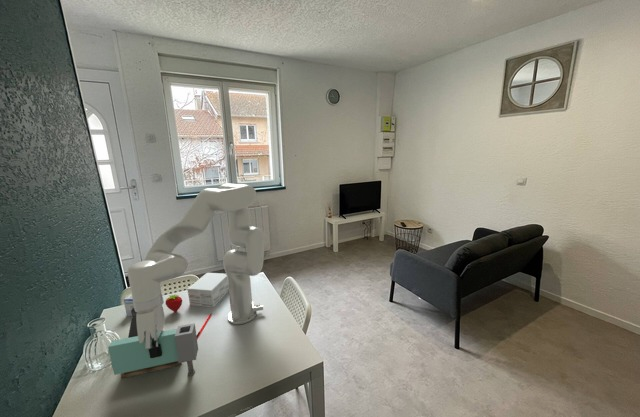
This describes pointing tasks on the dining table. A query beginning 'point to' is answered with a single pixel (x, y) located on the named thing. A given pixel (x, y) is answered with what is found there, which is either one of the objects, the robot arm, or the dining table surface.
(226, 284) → the supplement box
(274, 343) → the dining table surface
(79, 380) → the dining table surface
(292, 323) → the dining table surface
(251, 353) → the dining table surface
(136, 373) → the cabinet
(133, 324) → the phone stand
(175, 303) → the strawberry
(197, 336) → the pen
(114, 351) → the teal desk organizer
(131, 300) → the medicine box
